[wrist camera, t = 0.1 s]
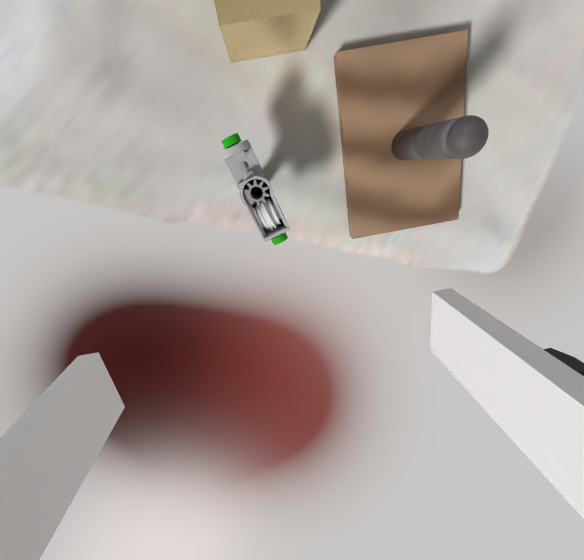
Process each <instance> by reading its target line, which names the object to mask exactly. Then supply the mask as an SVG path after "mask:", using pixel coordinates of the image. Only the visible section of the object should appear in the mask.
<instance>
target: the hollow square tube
mask: <svg viewBox="0 0 584 560" xmlns="http://www.w3.org/2000/svg"><path fill="white" fill-rule="evenodd" d="M214 2H215V7H216V11H217V16H218V21H219V26H220V29H221V32H222V36H223V39H224V42H225V45H226V49H227V52H228V55H229V58H230V62H237V61H243V60H248V59H254V58H260V57H266V56H272V55H278V54H284V53H290V52H296V51H302V50H305V49H306V46H307V44H308V41H309V39H310V36H311V34H312V31H313V28H314V26H315V23H316V21H317V18H318V15H319V13H320V10H321V5H320V0H214Z"/></svg>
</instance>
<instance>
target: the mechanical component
mask: <svg viewBox="0 0 584 560" xmlns="http://www.w3.org/2000/svg"><path fill="white" fill-rule="evenodd" d="M240 141H241V139H240V137H239V135H238V133H236V134H234V135H231V136H229V137H227V138H226V139H224V140H223V141H222V143H223V145H224V147H225V149H227V148H229V149H227V150H225V151H223V152H222V153H221V155H222V156H223V158H224V160H225V161H226V163H227V165H228V167H229V169H230V171H231V173H232V175H233V177H234V179H235V181H236V182H237V186H238V188H239V190H240V197H241V200H242V202H243V203H244V204H245V205H246V206H247V208H248V210H249V212H250V214H251V216H252V218H253V219H254V221H255V223H256V225H257V227H258V229H259V231H260V233H261V235H262V237H263V239H264V241H265V242H266V241H268V240H270V239H271V240H272V242H273V244H274V245H276V244H279V243H281V242H283V241H285V240H286V239H287V238H288V237H287V235H286V233H285V232H287V231H289V230H290V228H289V226H288V224H287V222H286V219H285V217H284V215H283V213H282V211H281V209H280V207H279V204H278V202H277V200H276V198H275V196H274V194H273V190H272V187H271V184H270V182H269V181H268V180H267V179H266V177H265V175H264V173H263V171H262V168H261V166H260V164H259V162H258V160H257V158H256V156H255V154H254V151H253V149H252V147H251V145H250V143H249V141H248V140H245V141H243V142H240ZM239 142H240V143H239Z"/></svg>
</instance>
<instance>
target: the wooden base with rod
mask: <svg viewBox="0 0 584 560" xmlns="http://www.w3.org/2000/svg"><path fill="white" fill-rule="evenodd" d="M467 45H468V30H463V31H457V32H451V33H445V34H439V35H433V36H427V37H421V38H415V39H410V40H404V41H398V42H392V43H386V44H380V45H374V46H368V47H362V48H356V49H350V50H344V51H338V52H337V53H336V54H335V56H334V64H335V75H336V86H337V97H338V108H339V120H340V131H341V142H342V153H343V164H344V175H345V186H346V197H347V208H348V219H349V230H350V236H351V237H352V238H353V239H355V238H360V237H365V236H371V235H376V234H382V233H387V232H392V231H398V230H403V229H408V228H414V227H419V226H424V225H430V224H435V223H441V222H446V221H451V220H457V219H458V216H459V197H460V178H461V159H464V158H468V157H471V156H473V155H475V154H476V153H478V152H479V151H480V150H481V149H482V148H483V146H484V145H485V143H486V141H487V138H488V127H487V124H486V123H485V121H484V120H483V119H481V118H480V117H477V116H472V115H469V116H464V102H465V83H466V64H467Z"/></svg>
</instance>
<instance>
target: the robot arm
mask: <svg viewBox="0 0 584 560" xmlns="http://www.w3.org/2000/svg"><path fill="white" fill-rule="evenodd" d="M430 349H431V350H432V352H433V353H434V354H435V355H436V356H437V357H438V358H439V359H440V361H441V362H442V363H443V364H444V365H445V366H446V367H447V368H448V369H449V370H450V372H451V373H452V374H453V375H454V376H455V377H456V378H457V379H458V380H459V382H460V383H461V384H462V385H463V386H464V387H465V388H466V389H467V390H468V391H469V393H470V394H471V395H472V396H473V397H474V398H475V399H476V400H477V401H478V403H479V404H480V405H481V406H482V407H483V408H484V409H485V410H486V411H487V412H488V413H489V415H490V416H491V417H492V418H493V419H494V420H495V421H496V422H497V424H498V425H499V426H500V427H501V428H502V429H503V430H504V431H505V432H506V434H507V435H508V436H509V437H510V438H511V439H512V440H513V441H514V442H515V443H516V445H517V446H518V447H519V448H520V449H521V450H522V451H523V452H524V453H525V455H526V456H527V457H528V458H529V459H530V460H531V461H532V462H533V463H534V464H535V466H536V467H537V468H538V469H539V470H540V471H541V472H542V473H543V474H544V476H545V477H546V478H547V479H548V480H549V481H550V482H551V483H552V484H553V485H554V486H555V488H556V489H557V490H558V491H559V492H560V493H561V494H562V495H563V496H564V498H565V499H566V500H567V501H568V502H569V503H570V504H571V505H572V507H573V508H574V509H576V511H577V512H578V513H579V514H580V515H581V516H582V518H583V519H584V363H583V362H581V361H579V360H578V359H576V358H575V357H572V356H570V355H567V354H565V353H562V352H560V351H557V350H554V349H552V348H548V349H542V348H540V347H539V346H537V345H536V344H534V343H533V342H531V341H529V340H528V339H526V338H525V337H524V336H522V335H521V334H519V333H518V332H516V331H515V330H513V329H512V328H510V327H508V326H507V325H505V324H504V323H502V322H501V321H499V320H498V319H496V318H495V317H493V316H492V315H490V314H489V313H487V312H486V311H484V310H483V309H481V308H480V307H478V306H477V305H475V304H474V303H472V302H471V301H469V300H468V299H466V298H465V297H463V296H462V295H460V294H459V293H457V292H456V291H454V290H453V289H445V290H440V291H434V292H432V318H431V347H430ZM124 407H125V406H124V405H123V402H122V400H121V398H120V396H119V394H118V392H117V390H116V388H115V386H114V384H113V382H112V379H111V377H110V376H109V374H108V371H107V369H106V367H105V365H104V363H103V361H102V359H101V357H100V355H99V353H93V354H87V355H82V356H78V357H77V358H76V359H75V360H74V361H73V362H72V363H71V364H70V365H69V366H68V367H67V368H66V369H65V371H64V372H63V373H62V374H61V375H60V376H59V377H58V378H57V379H56V380H55V381H54V382H53V383H52V384H51V385H50V386H49V387H48V388H47V390H45V392H44V393H43V394H42V395H41V396H40V397H39V398H38V399H37V400H36V401H35V402H34V403H33V404H32V405H31V406H30V407H29V408H28V409H27V411H26V412H25V413H24V414H23V415H22V416H21V417H20V418H19V419H18V420H17V421H16V422H15V423H14V424H13V425H12V426H11V428H9V430H8V431H7V432H6V433H5V434H4V435H3V436H2V437H1V438H0V560H39V559H40V557H41V555H42V553H43V552H44V550H45V548H46V546H47V545H48V543H49V541H50V539H51V537H52V536H53V534H54V532H55V530H56V528H57V527H58V525H59V523H60V521H61V520H62V518H63V516H64V514H65V512H66V511H67V509H68V507H69V505H70V504H71V502H72V500H73V498H74V496H75V495H76V493H77V491H78V489H79V488H80V486H81V484H82V482H83V480H84V478H85V477H86V475H87V473H88V471H89V470H90V468H91V466H92V464H93V462H94V461H95V459H96V457H97V455H98V454H99V452H100V450H101V448H102V446H103V445H104V443H105V441H106V439H107V438H108V436H109V434H110V432H111V430H112V429H113V427H114V425H115V423H116V422H117V420H118V418H119V416H120V414H121V412H122V411H123V409H124Z"/></svg>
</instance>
